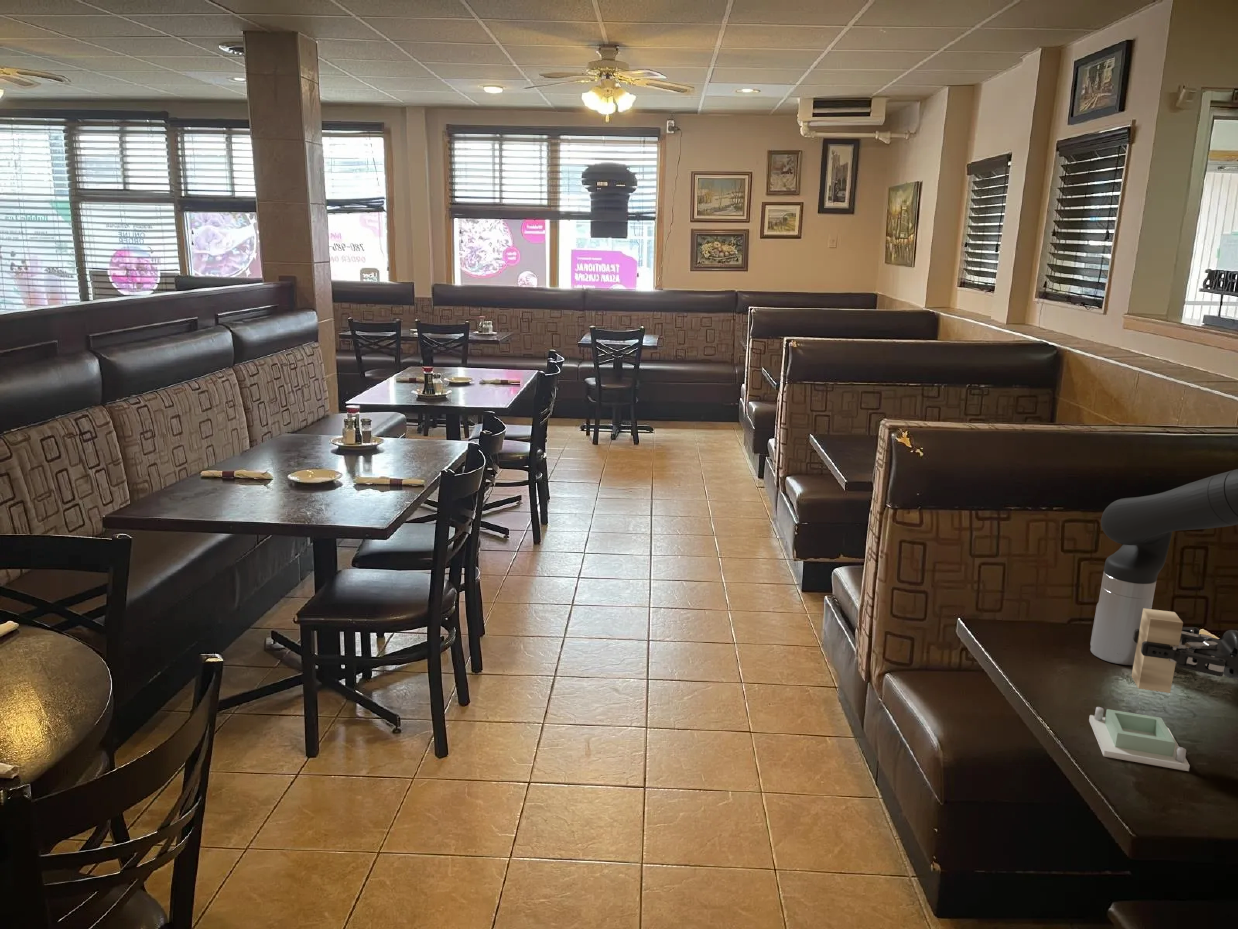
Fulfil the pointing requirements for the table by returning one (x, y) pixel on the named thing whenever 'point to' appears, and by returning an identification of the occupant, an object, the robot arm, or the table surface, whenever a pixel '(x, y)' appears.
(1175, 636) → the maple block
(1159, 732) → the socket plate
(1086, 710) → the table surface
